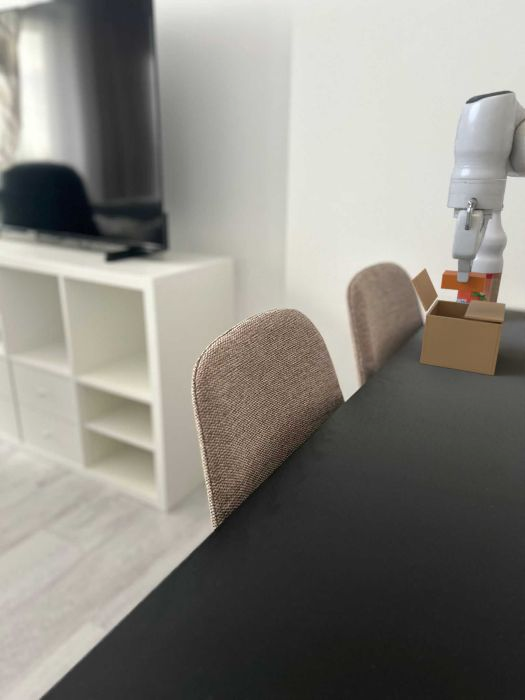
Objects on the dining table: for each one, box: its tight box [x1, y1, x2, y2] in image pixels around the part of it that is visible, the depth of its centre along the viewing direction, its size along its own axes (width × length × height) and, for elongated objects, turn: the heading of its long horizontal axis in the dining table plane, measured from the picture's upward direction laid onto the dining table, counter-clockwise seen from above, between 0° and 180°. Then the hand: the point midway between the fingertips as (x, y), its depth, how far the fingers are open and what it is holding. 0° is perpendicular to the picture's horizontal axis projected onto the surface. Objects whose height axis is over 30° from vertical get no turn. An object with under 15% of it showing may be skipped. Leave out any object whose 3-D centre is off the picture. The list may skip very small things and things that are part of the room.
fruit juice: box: [455, 205, 508, 303], centre depth 126 cm, size 9×9×28 cm
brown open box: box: [419, 299, 506, 377], centre depth 99 cm, size 14×13×10 cm
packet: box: [440, 269, 486, 293], centre depth 91 cm, size 4×7×3 cm, turn 65°
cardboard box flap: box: [411, 268, 439, 312], centre depth 100 cm, size 14×6×1 cm
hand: (463, 278), depth 91 cm, fingers closed on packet, 4 cm apart
